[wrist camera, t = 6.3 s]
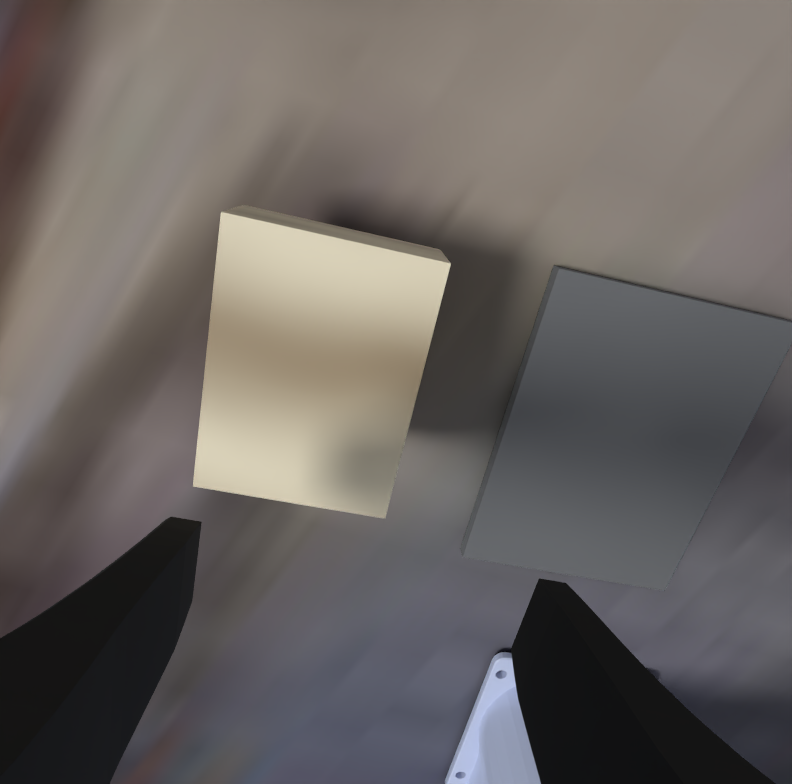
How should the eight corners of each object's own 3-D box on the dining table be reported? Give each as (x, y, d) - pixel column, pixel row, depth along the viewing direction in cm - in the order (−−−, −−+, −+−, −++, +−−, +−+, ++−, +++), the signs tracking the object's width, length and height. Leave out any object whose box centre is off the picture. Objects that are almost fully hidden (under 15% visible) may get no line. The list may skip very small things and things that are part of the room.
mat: (658, 581, 24) (664, 590, 24) (460, 548, 23) (462, 557, 23) (789, 320, 20) (801, 324, 19) (553, 265, 19) (558, 268, 18)
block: (383, 475, 18) (385, 518, 16) (215, 446, 18) (192, 486, 16) (440, 249, 16) (450, 263, 13) (243, 204, 15) (221, 211, 13)
